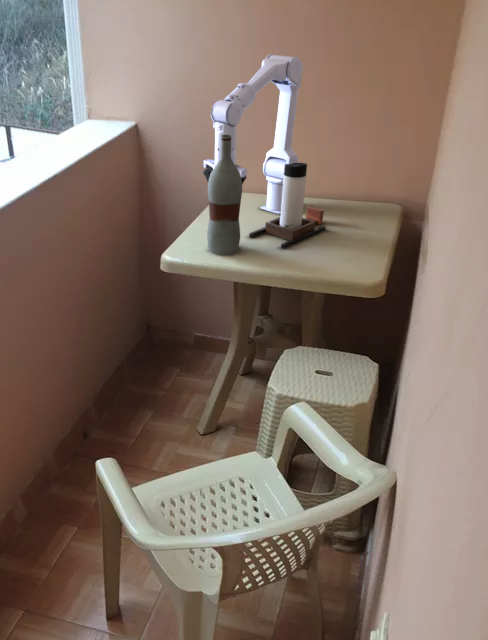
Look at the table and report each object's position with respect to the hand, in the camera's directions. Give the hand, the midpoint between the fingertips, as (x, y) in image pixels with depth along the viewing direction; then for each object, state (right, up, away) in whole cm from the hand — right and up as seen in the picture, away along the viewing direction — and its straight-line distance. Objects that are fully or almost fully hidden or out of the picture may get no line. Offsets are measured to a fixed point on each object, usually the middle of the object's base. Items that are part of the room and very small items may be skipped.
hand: (224, 197), depth 187 cm
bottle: (-1, -16, -6) cm, 17 cm away
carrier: (+22, -7, +7) cm, 24 cm away
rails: (+19, -9, +4) cm, 21 cm away
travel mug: (+20, -9, +5) cm, 22 cm away
